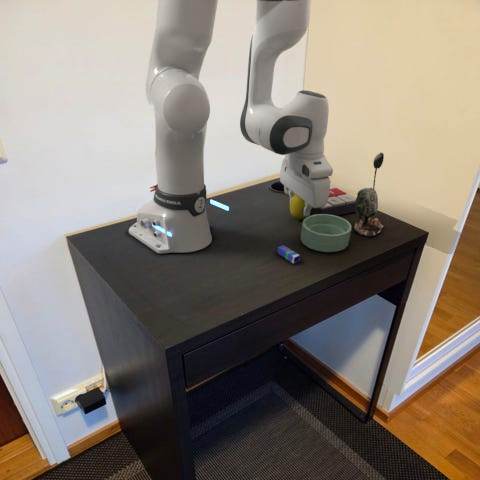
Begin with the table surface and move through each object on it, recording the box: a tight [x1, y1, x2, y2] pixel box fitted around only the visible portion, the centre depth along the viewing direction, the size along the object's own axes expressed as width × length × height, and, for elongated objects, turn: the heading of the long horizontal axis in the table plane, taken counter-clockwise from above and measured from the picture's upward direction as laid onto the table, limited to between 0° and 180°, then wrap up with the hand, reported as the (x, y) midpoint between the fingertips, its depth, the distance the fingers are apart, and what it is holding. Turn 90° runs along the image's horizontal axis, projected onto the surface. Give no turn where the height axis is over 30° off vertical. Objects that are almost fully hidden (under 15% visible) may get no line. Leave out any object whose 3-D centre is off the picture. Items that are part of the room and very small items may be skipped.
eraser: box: [277, 244, 301, 265], centre depth 108 cm, size 2×6×2 cm, turn 36°
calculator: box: [309, 187, 357, 216], centre depth 130 cm, size 11×4×15 cm
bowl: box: [300, 214, 353, 253], centre depth 114 cm, size 12×12×5 cm
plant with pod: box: [353, 152, 385, 237], centre depth 115 cm, size 8×11×20 cm
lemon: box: [289, 195, 307, 221], centre depth 123 cm, size 6×6×8 cm
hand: (299, 210), depth 123 cm, fingers closed on lemon, 5 cm apart
